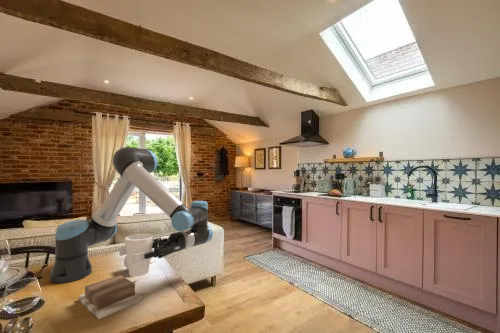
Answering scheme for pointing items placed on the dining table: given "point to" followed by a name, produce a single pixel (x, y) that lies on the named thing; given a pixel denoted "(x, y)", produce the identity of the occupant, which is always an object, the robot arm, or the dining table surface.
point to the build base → (111, 307)
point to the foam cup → (137, 245)
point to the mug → (127, 262)
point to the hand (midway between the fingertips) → (126, 255)
